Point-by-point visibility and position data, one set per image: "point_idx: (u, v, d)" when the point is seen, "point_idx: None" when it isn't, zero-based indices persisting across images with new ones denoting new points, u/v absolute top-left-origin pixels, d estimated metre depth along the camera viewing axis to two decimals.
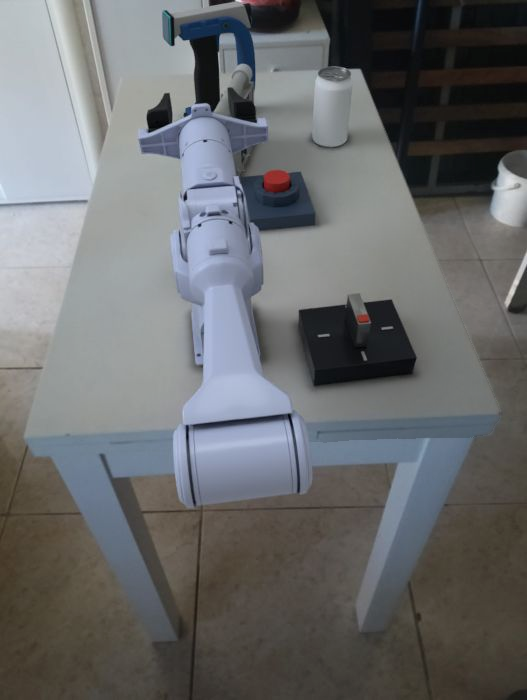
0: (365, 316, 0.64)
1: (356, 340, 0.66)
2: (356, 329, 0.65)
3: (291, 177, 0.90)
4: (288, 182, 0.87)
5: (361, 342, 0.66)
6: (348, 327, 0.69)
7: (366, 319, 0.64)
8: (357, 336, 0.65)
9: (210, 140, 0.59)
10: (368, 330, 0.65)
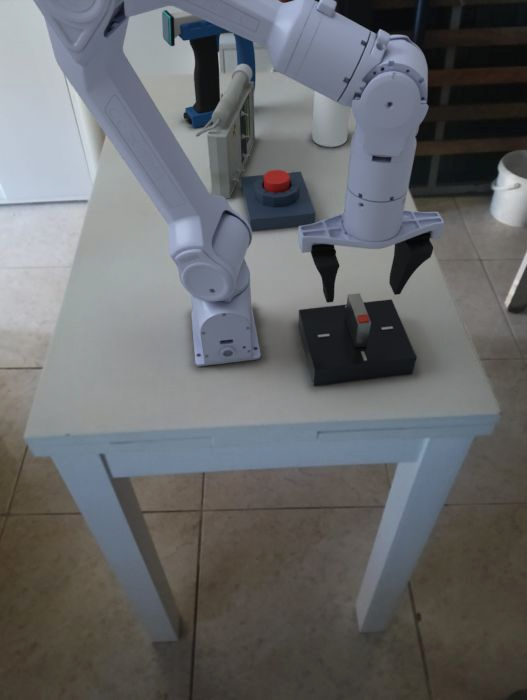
0: (365, 316, 0.64)
1: (356, 340, 0.66)
2: (356, 329, 0.65)
3: (291, 177, 0.90)
4: (288, 182, 0.87)
5: (361, 342, 0.66)
6: (348, 327, 0.69)
7: (366, 319, 0.64)
8: (357, 336, 0.65)
9: None
10: (368, 330, 0.65)
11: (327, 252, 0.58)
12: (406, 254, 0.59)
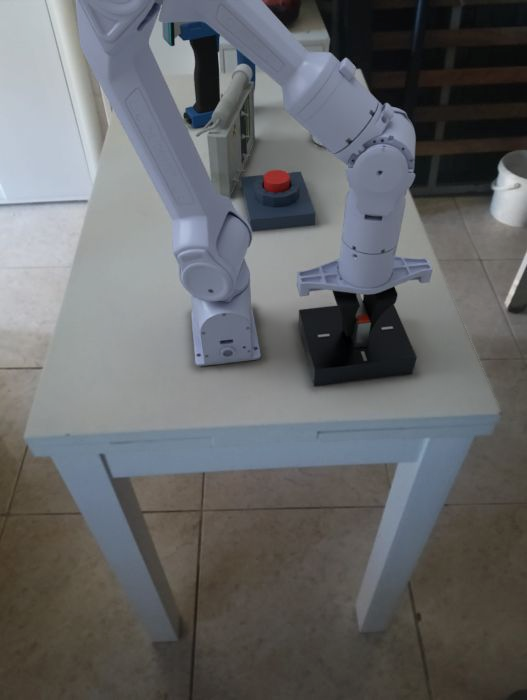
0: (365, 316, 0.64)
1: (356, 340, 0.66)
2: (356, 329, 0.65)
3: (291, 177, 0.90)
4: (288, 182, 0.87)
5: (361, 342, 0.66)
6: None
7: (366, 319, 0.64)
8: (357, 336, 0.65)
9: None
10: (368, 330, 0.65)
11: (348, 293, 0.62)
12: (373, 300, 0.63)
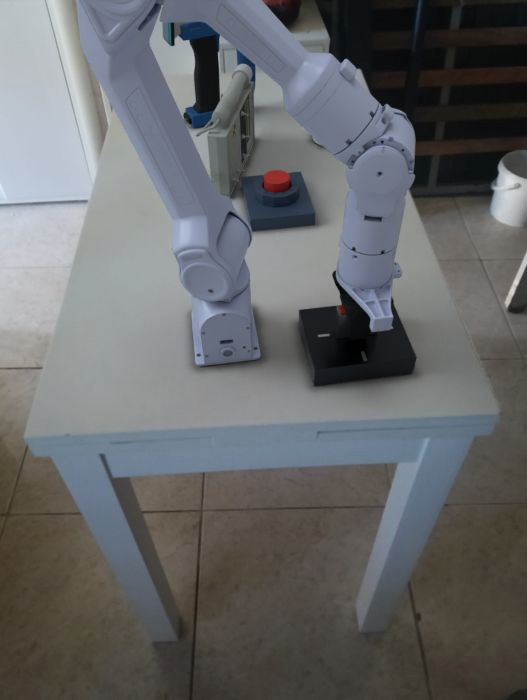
0: None
1: (335, 323, 0.68)
2: (337, 312, 0.67)
3: (291, 177, 0.90)
4: (288, 182, 0.87)
5: (335, 329, 0.68)
6: None
7: (342, 310, 0.65)
8: (335, 319, 0.67)
9: None
10: (338, 321, 0.66)
11: None
12: None
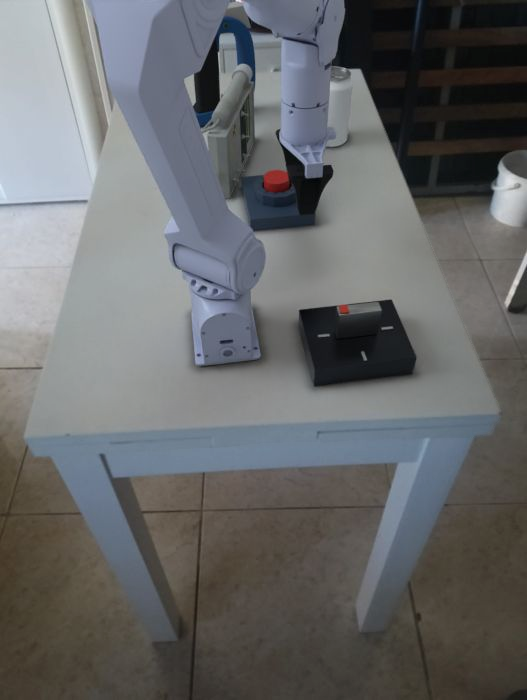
0: (346, 310, 0.65)
1: (335, 323, 0.68)
2: (337, 312, 0.67)
3: None
4: (288, 182, 0.87)
5: (335, 329, 0.68)
6: None
7: (342, 310, 0.65)
8: (335, 319, 0.67)
9: None
10: (338, 321, 0.66)
11: None
12: None
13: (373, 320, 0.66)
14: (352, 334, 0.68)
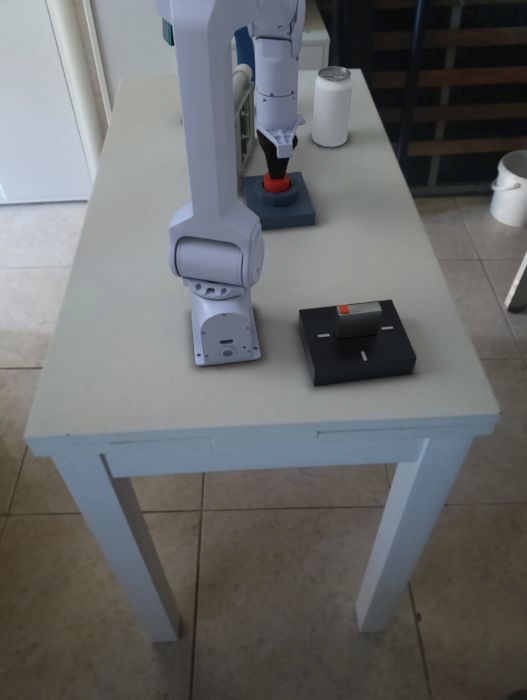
0: (346, 310, 0.65)
1: (335, 323, 0.68)
2: (337, 312, 0.67)
3: (291, 177, 0.90)
4: (288, 182, 0.88)
5: (335, 329, 0.68)
6: None
7: (342, 310, 0.65)
8: (335, 319, 0.67)
9: (297, 87, 0.77)
10: (338, 321, 0.66)
11: None
12: None
13: (373, 320, 0.66)
14: (352, 334, 0.68)
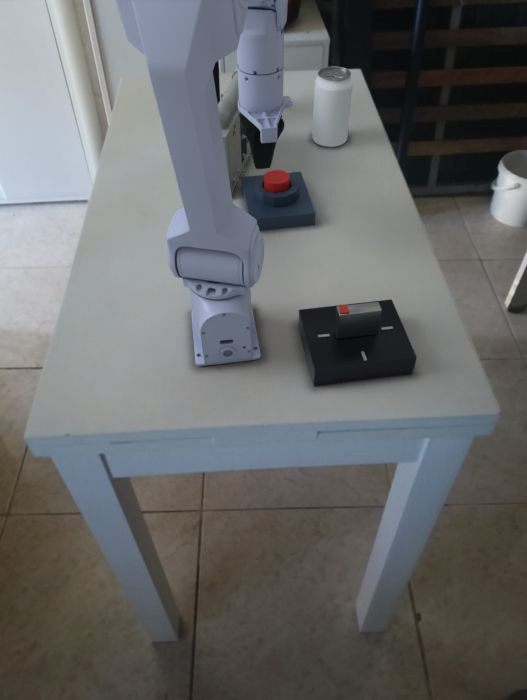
0: (346, 310, 0.65)
1: (335, 323, 0.68)
2: (337, 312, 0.67)
3: (291, 177, 0.90)
4: (288, 182, 0.87)
5: (335, 329, 0.68)
6: None
7: (342, 310, 0.65)
8: (335, 319, 0.67)
9: (283, 64, 0.70)
10: (338, 321, 0.66)
11: None
12: None
13: (373, 320, 0.66)
14: (352, 334, 0.68)
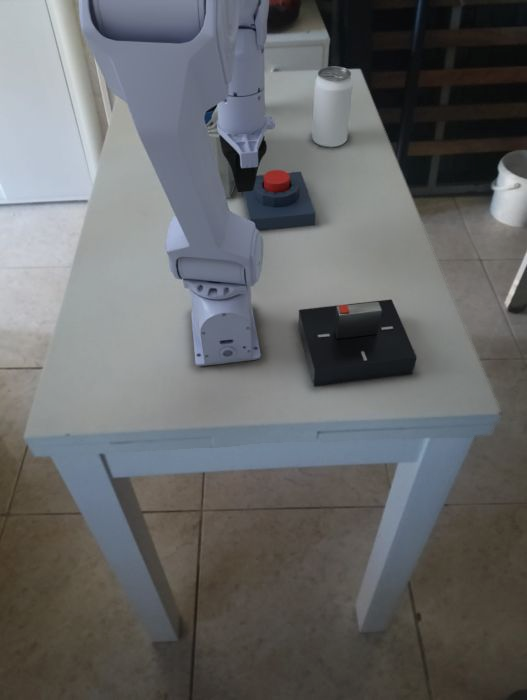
0: (346, 310, 0.65)
1: (335, 323, 0.68)
2: (337, 312, 0.67)
3: (291, 177, 0.90)
4: (288, 182, 0.87)
5: (335, 329, 0.68)
6: None
7: (342, 310, 0.65)
8: (335, 319, 0.67)
9: (264, 84, 0.66)
10: (338, 321, 0.66)
11: None
12: None
13: (373, 320, 0.66)
14: (352, 334, 0.68)
